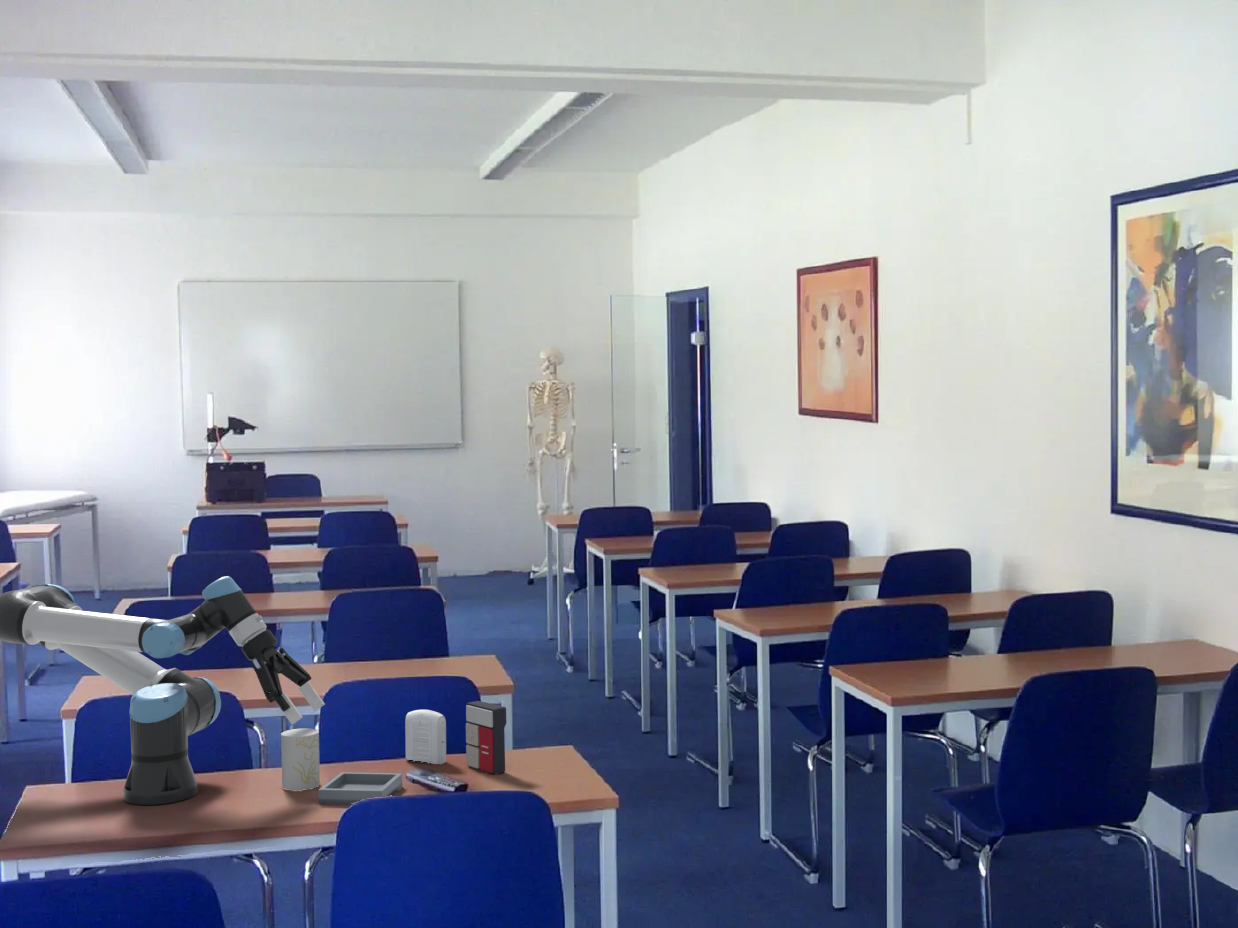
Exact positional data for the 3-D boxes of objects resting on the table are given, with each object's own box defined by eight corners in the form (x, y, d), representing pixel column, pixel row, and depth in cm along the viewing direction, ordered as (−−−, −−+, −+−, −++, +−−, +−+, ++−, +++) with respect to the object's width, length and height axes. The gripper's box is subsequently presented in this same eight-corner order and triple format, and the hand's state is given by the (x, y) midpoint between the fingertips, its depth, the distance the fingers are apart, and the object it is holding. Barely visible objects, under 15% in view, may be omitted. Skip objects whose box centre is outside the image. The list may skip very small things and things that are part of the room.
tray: (318, 803, 275) (318, 789, 275) (341, 785, 289) (341, 772, 289) (382, 804, 273) (382, 790, 273) (402, 786, 287) (402, 773, 287)
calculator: (464, 766, 304) (463, 703, 303) (479, 763, 306) (478, 700, 306) (492, 775, 295) (491, 710, 295) (507, 771, 298) (506, 707, 298)
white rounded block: (449, 761, 309) (448, 709, 308) (439, 765, 305) (438, 713, 305) (413, 757, 313) (412, 706, 313) (403, 761, 309) (401, 710, 309)
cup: (298, 793, 284) (297, 738, 283) (274, 787, 288) (273, 733, 288) (327, 784, 290) (326, 731, 290) (303, 779, 295) (302, 726, 295)
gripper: (243, 637, 280) (300, 716, 279) (288, 620, 305) (340, 693, 304) (217, 657, 281) (274, 736, 280) (264, 638, 306) (316, 711, 305)
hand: (309, 714), depth 292 cm, fingers open, 13 cm apart
